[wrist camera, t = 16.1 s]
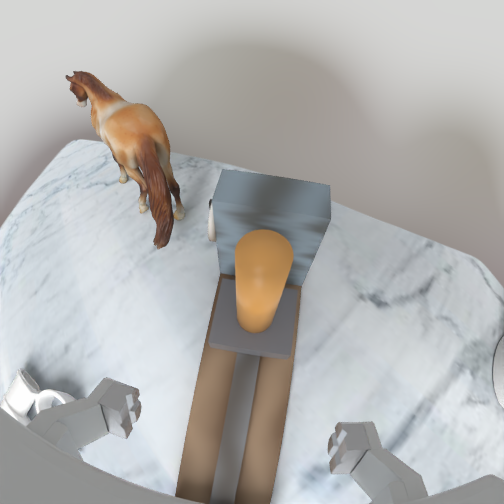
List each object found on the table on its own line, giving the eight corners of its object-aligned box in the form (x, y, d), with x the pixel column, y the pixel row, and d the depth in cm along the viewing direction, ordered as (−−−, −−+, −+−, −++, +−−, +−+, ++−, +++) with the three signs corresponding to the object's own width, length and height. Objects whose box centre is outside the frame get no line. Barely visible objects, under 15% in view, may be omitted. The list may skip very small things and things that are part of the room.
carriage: (293, 298, 31) (328, 219, 19) (286, 359, 28) (325, 316, 15) (223, 287, 32) (213, 201, 19) (210, 347, 28) (186, 294, 16)
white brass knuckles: (38, 355, 29) (107, 428, 25) (-5, 433, 20) (55, 506, 17) (24, 349, 26) (95, 429, 22) (-19, 432, 17) (42, 511, 14)
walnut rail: (301, 260, 38) (329, 181, 25) (260, 534, 19) (274, 600, 6) (221, 247, 38) (214, 164, 26) (166, 517, 19) (121, 571, 7)
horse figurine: (96, 161, 48) (64, 73, 30) (129, 143, 50) (105, 54, 33) (168, 273, 36) (116, 147, 18) (215, 242, 39) (200, 108, 21)
